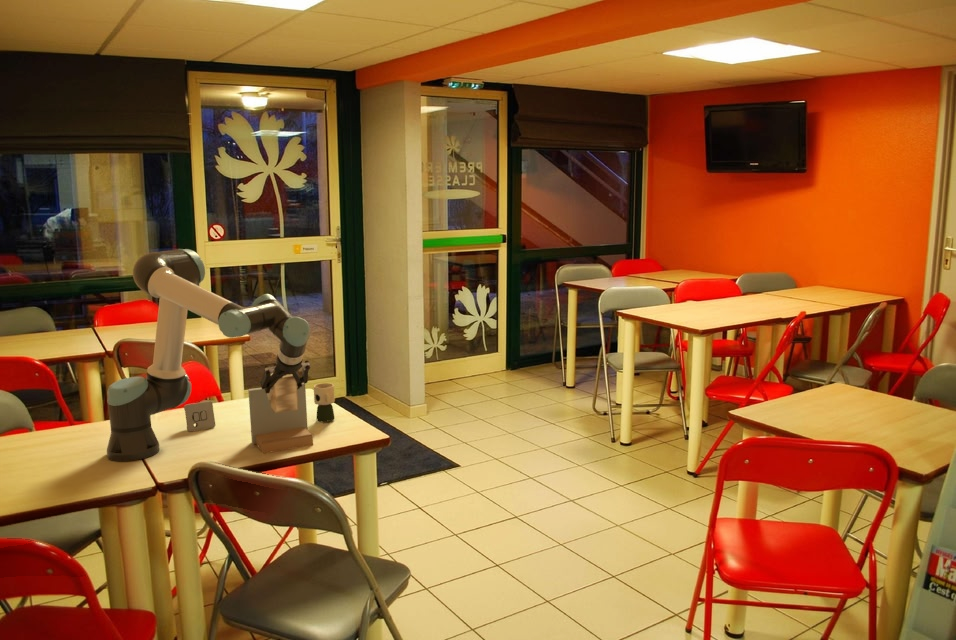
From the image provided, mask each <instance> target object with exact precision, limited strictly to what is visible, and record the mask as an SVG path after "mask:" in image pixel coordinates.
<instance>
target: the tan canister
mask: <svg viewBox="0 0 956 640" xmlns="http://www.w3.org/2000/svg"><path fill="white" fill-rule="evenodd" d="M273 373H274V372H272V374H273ZM272 374H271V375H272ZM270 404H271V408H272V409H273V410H274V411H275V412H276V413H277V412H284V411H290V410H297V409H298V402H297V384H296V380H295V378H294V377H293V375H292V374H290V375H288V374H287V375H284V376H283V377H282V378H280V379H279V380H278V381H277V382H276V383H275V384H274V385H273V392H272V397H271V400H270Z"/></svg>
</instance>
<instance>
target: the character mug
mask: <svg viewBox="0 0 956 640" xmlns="http://www.w3.org/2000/svg"><path fill="white" fill-rule="evenodd" d="M335 398H336V397H335V384H333V383H331V382H322V383H316V384H314V385H313V401H314V404H315V405H317V407H316V421H317V422H320V423H328V422H330V421H334V420H335V419H336V417H335V411H334V407H333V405H332V404H334V403H335V401H336V399H335Z"/></svg>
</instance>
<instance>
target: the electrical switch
mask: <svg viewBox="0 0 956 640" xmlns="http://www.w3.org/2000/svg"><path fill="white" fill-rule="evenodd" d="M183 408H184V413H185V421H186V430H187V432H189V433H191V432H195V431H201V430H202V431H203V430H208V429H213V428H215V426H216V421H215V420H216V419H215V411H214V405H213V401H210V400H207V401H202V402H196V403H195V402H194V403H188V404H185V405H184V406H183ZM194 424H195V425H194Z"/></svg>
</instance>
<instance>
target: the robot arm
mask: <svg viewBox="0 0 956 640" xmlns="http://www.w3.org/2000/svg"><path fill="white" fill-rule="evenodd" d="M205 275H206V266H205V263H204V261H203V260H202V258H201V257H200V255H199V253H197V252H196V251H195V250H192V249H189V248H185V249H183V248H176V249H171V250H162V251H154V252H153V251H152V252H147V253H146V254H143V255H141V256H140V257H139V258H138V259H137V260H136V262H135V264H134V266H133V269H132V277H133V281H134V283H135V284H136V286H137V287H138V288H139V289H140V290H141V291H142V292H144V293H145V294H148V295H149V296H151V297H153V298H157V299H159V300H158V301H159V302H158V312H157V322H156V332H155V340H154V351H153V361H152V364H151V365H150V366H148V367H147V369H146V377H143V376H130V377H126V378H122V379H119V380H116V381H114V382H113V383H111V384H110V385H109V386H108V387H107V388H108V389H107V392H106V393H107V394H106V395H107V398H106V402H107V405H108V413H109V414H108V415H109V425H110V436H109V439H108V444H107V448H106V455H107V456H106V457H107V459H108V460H110V461H114V462H133V461H138V460H142V459H146V458H149V457H152V456H154V455H156V454H157V453H158V452H159V451H160V442H159V440H158V438H157V435H156V434H155V431H154V430H153V428H152V420H151V419H152V417H151V416H153V415H156V414H158V413H159V414H160V413H161V412H165V411H168V410H172V409H175V408H177V407H179V406H181V405H183V404H185V403H186V402H187V401H188V400H189V397H190V396H191V393H192V383H191V382H192V381H189V380H190V378H189V376H188V374H187V372H186V369H184V367H183V366H182V363H183V362H182V360H183V353H184V345H185V335H186V326H187V318H188V311H190V312H191V313H193V314H196V315H197V316H199V317H202V318H204V319H206V320H207V321H210V322H211V323H214V324H215V325H218V328H219V331H220V332H221V333H222V335H223V336H225V337H226V338H241V337H244V336H247V335H249V334H254V333H257V332H261V331H265V330H269V331H270V332H271V333H272V334H273V335H274V336H275V337H276V338H277V339H278V340H279V346H278V351H277V356H276V359H275V363H274V364H273V366H269V365H264V372H263V373H262V376H261V379H260V381H259V383H260V388H262V389H265V392H266V393H267V396H268V400H271V397H272V392H273V385H274V384H275V383H276V382H277V381H278V380H279V379H280V378H282V377H283V376H284V375H287V374H288V375H290V374H292V375H293V377H294V378H295V380H296V384H297V389H299V388H300V387H302V383H305V384H307V383H308V380H309V370H310V369H311V365H310V361H309V360H305V361H304V362H303V360H304V359H303V358H304V355H305V352H306V347H307V344H308V341H309V339H310V332H311V326H310V324H309V322H308V321H307V320H306V319H304V318H301V317H300V316H293V315H292V314H291V313H290V312H289V311H288V310H287V308H285V306H283V304H282V303H281V302H280V301H279V300H277V299H276V298H275V297H274V296H273V295H272V294H269V293H264V294H262V295H261V296H258V297H257V298H255V299H254V301H253V302H252V304H251V305H250V306H241V305H239V304H237V303H234V302H233V301H230V300H228V299H226V298H224V297H223V296H220V295H218V294H216V293H214V292H212V291H209V290H207V289H206V288H204V287H201V286H200V285H199V284H201V283H202V282H203V281H204V280H205V277H206V276H205ZM300 369H302V370H301V371H302V372H301V373H302V374H301V377H300V375H299V372H298V371H299V370H300ZM272 373H273V374H272ZM271 374H272V375H271Z"/></svg>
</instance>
